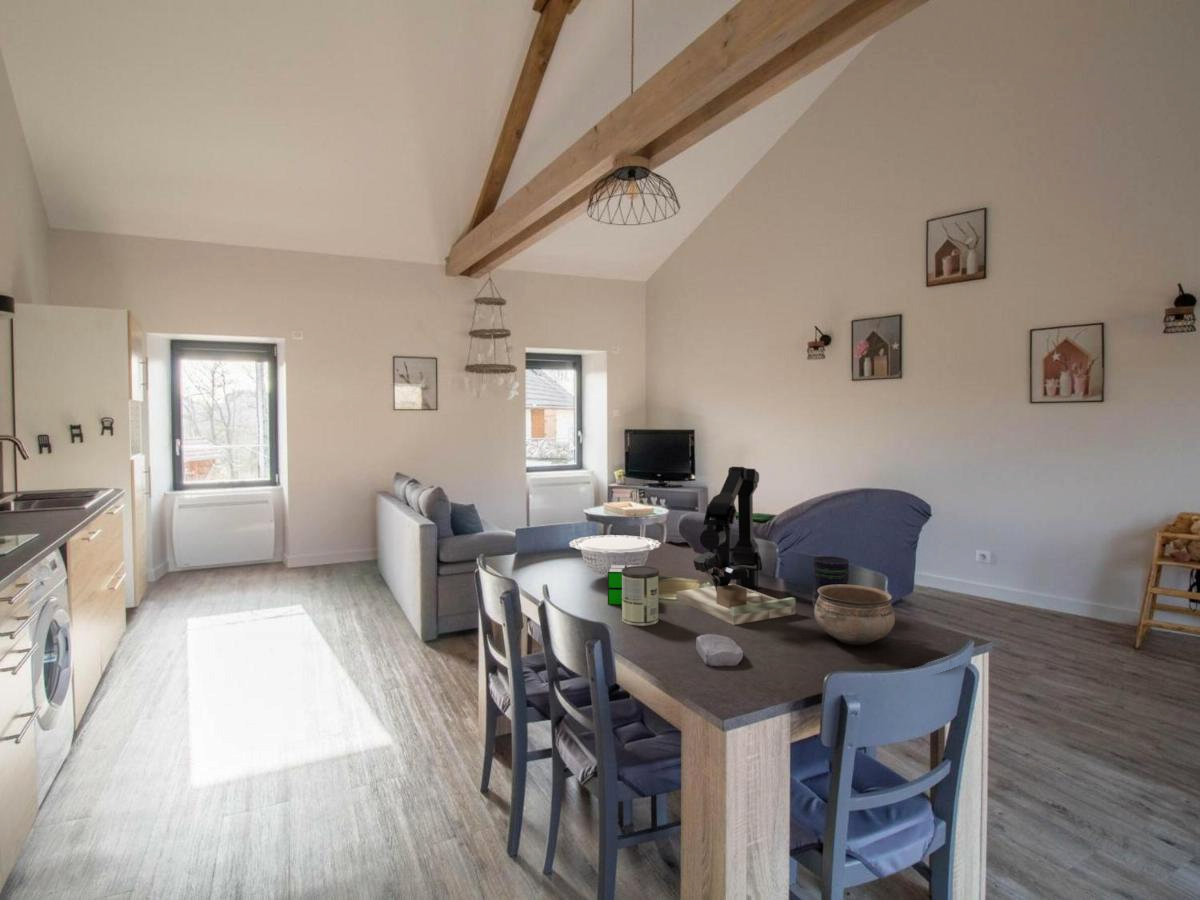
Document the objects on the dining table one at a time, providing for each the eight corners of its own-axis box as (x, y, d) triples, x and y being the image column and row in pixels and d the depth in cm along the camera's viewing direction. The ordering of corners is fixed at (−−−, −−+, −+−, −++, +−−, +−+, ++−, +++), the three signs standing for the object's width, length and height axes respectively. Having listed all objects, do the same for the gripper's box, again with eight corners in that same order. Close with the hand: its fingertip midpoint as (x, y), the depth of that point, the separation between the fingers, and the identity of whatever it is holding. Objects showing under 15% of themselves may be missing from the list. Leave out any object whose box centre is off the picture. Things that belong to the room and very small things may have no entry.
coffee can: (627, 613, 192) (627, 564, 191) (662, 616, 189) (663, 567, 188) (616, 623, 182) (616, 572, 182) (653, 627, 179) (653, 575, 178)
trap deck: (733, 591, 217) (733, 577, 216) (795, 614, 192) (795, 598, 191) (675, 599, 206) (676, 585, 206) (733, 624, 182) (733, 608, 181)
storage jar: (849, 608, 198) (850, 558, 197) (846, 617, 189) (847, 564, 188) (814, 604, 202) (815, 555, 201) (810, 613, 193) (810, 561, 192)
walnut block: (733, 601, 196) (733, 584, 196) (746, 606, 191) (746, 588, 190) (716, 603, 193) (716, 586, 193) (729, 609, 188) (729, 591, 188)
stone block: (730, 655, 164) (691, 648, 163) (735, 636, 164) (695, 629, 163) (746, 676, 152) (703, 668, 151) (750, 655, 152) (708, 648, 151)
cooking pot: (855, 662, 154) (856, 610, 153) (789, 639, 170) (790, 592, 169) (916, 642, 168) (918, 594, 167) (851, 623, 184) (852, 578, 183)
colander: (677, 576, 237) (677, 540, 236) (632, 596, 210) (632, 556, 209) (600, 565, 254) (600, 531, 253) (550, 582, 227) (550, 545, 227)
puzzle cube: (642, 597, 210) (642, 565, 209) (641, 606, 200) (641, 572, 199) (610, 596, 211) (610, 564, 210) (607, 605, 201) (607, 571, 200)
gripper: (679, 540, 200) (679, 592, 201) (717, 552, 184) (716, 608, 184) (710, 537, 205) (709, 588, 206) (750, 548, 189) (749, 603, 189)
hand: (719, 596), depth 196 cm, fingers closed
